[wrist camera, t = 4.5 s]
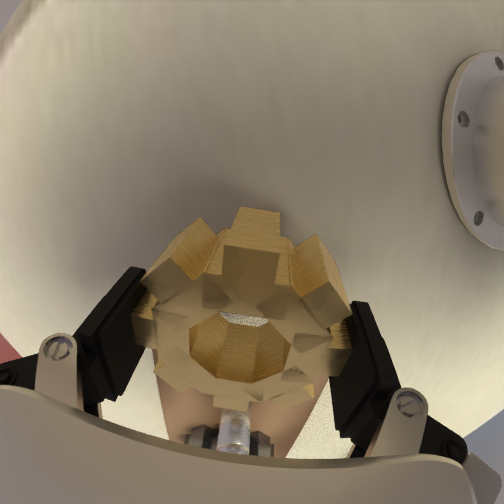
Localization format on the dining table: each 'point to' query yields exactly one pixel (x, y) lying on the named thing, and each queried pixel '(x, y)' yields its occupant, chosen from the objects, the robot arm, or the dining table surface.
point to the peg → (235, 431)
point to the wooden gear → (244, 313)
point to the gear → (209, 439)
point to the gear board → (203, 412)
